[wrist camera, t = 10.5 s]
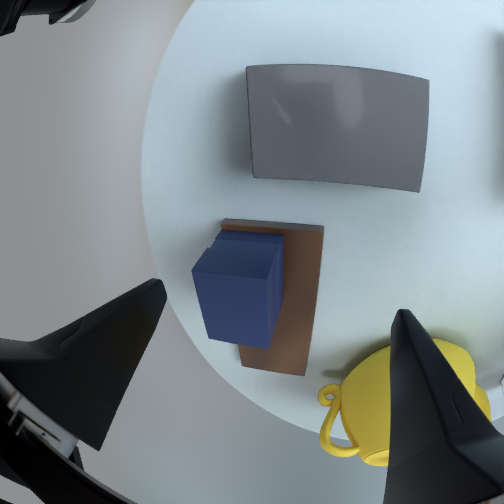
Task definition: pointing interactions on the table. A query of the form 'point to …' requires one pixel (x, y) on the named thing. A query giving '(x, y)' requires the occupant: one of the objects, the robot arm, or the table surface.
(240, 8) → the table surface
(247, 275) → the navy block
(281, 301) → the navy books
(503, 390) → the can
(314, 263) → the board
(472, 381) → the teapot
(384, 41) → the table surface
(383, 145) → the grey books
